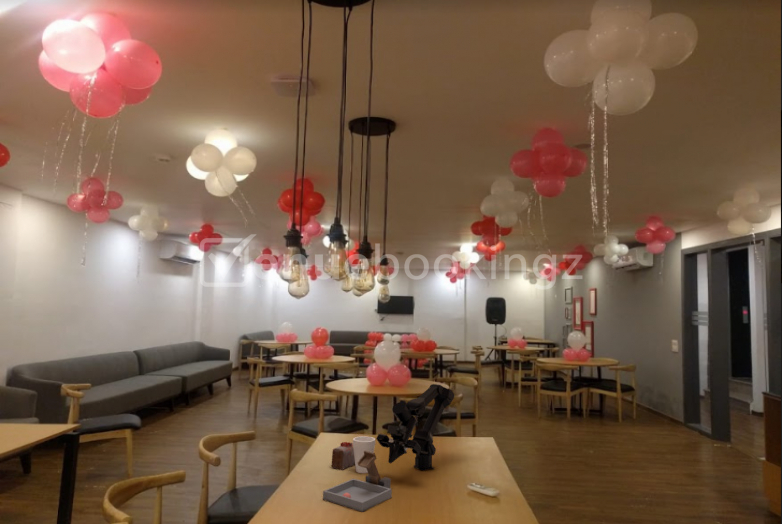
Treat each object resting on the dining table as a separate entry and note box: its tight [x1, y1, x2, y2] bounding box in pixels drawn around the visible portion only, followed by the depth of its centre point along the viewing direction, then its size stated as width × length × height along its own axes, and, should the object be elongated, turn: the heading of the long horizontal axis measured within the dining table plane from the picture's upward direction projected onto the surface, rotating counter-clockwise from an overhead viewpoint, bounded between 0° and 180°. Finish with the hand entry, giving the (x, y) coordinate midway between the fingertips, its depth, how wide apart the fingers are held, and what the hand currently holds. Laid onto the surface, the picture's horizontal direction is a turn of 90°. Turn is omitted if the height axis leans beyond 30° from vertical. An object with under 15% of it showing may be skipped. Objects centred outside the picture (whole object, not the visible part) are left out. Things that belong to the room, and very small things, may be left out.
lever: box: [358, 451, 382, 485], centre depth 198 cm, size 5×5×15 cm
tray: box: [322, 478, 393, 513], centre depth 191 cm, size 17×18×3 cm
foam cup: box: [352, 435, 376, 474], centre depth 223 cm, size 10×9×13 cm
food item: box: [330, 441, 355, 471], centre depth 230 cm, size 14×8×10 cm, turn 153°
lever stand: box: [365, 474, 392, 489], centre depth 201 cm, size 4×9×4 cm, turn 55°
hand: (389, 462), depth 208 cm, fingers closed
